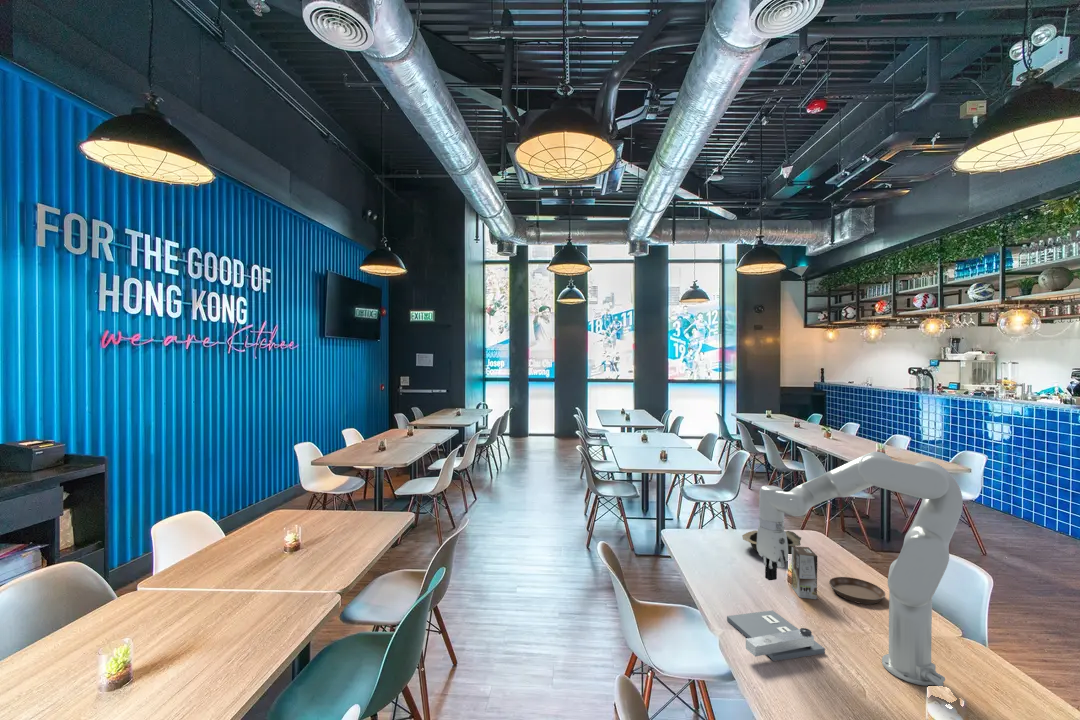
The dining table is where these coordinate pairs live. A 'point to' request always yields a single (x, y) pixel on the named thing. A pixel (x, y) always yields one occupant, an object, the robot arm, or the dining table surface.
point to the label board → (771, 631)
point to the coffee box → (804, 572)
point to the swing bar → (780, 642)
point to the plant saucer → (857, 590)
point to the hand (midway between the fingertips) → (770, 578)
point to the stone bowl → (791, 536)
